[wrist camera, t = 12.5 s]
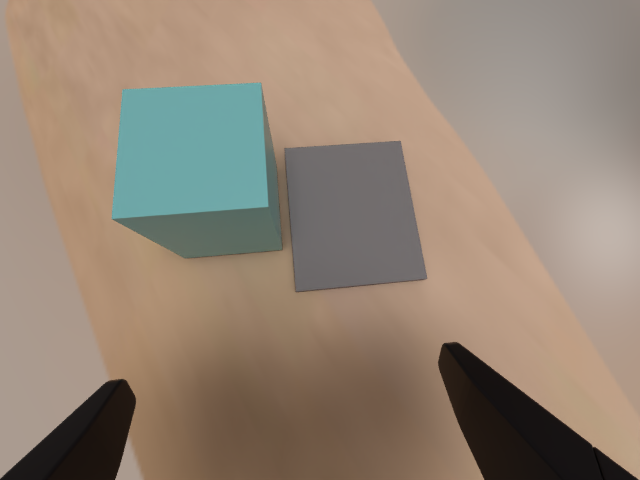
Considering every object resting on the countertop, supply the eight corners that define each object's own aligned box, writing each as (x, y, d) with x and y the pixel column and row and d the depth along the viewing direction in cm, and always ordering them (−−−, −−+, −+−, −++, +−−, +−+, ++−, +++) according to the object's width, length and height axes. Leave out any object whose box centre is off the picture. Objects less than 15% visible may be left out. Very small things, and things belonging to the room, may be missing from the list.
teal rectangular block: (282, 249, 24) (268, 206, 15) (184, 258, 23) (111, 219, 14) (276, 164, 25) (260, 82, 17) (186, 170, 25) (122, 89, 16)
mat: (425, 279, 23) (427, 278, 23) (296, 292, 23) (296, 291, 22) (399, 143, 26) (400, 140, 26) (285, 150, 26) (284, 148, 25)
